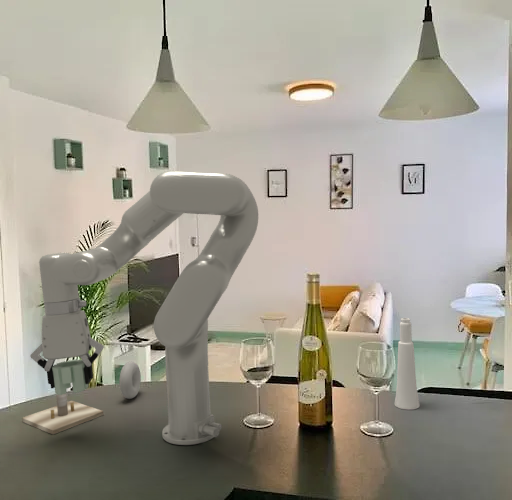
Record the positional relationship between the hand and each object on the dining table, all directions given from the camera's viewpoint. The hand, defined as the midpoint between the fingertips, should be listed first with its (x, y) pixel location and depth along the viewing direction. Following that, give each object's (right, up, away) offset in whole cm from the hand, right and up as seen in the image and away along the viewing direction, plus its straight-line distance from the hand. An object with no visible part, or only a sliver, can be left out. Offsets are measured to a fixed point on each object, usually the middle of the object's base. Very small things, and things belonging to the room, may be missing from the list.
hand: (71, 383), depth 122 cm
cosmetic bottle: (+80, -8, +11) cm, 81 cm away
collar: (0, -1, 0) cm, 1 cm away
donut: (+8, -10, +25) cm, 28 cm away
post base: (-6, -12, +12) cm, 18 cm away
